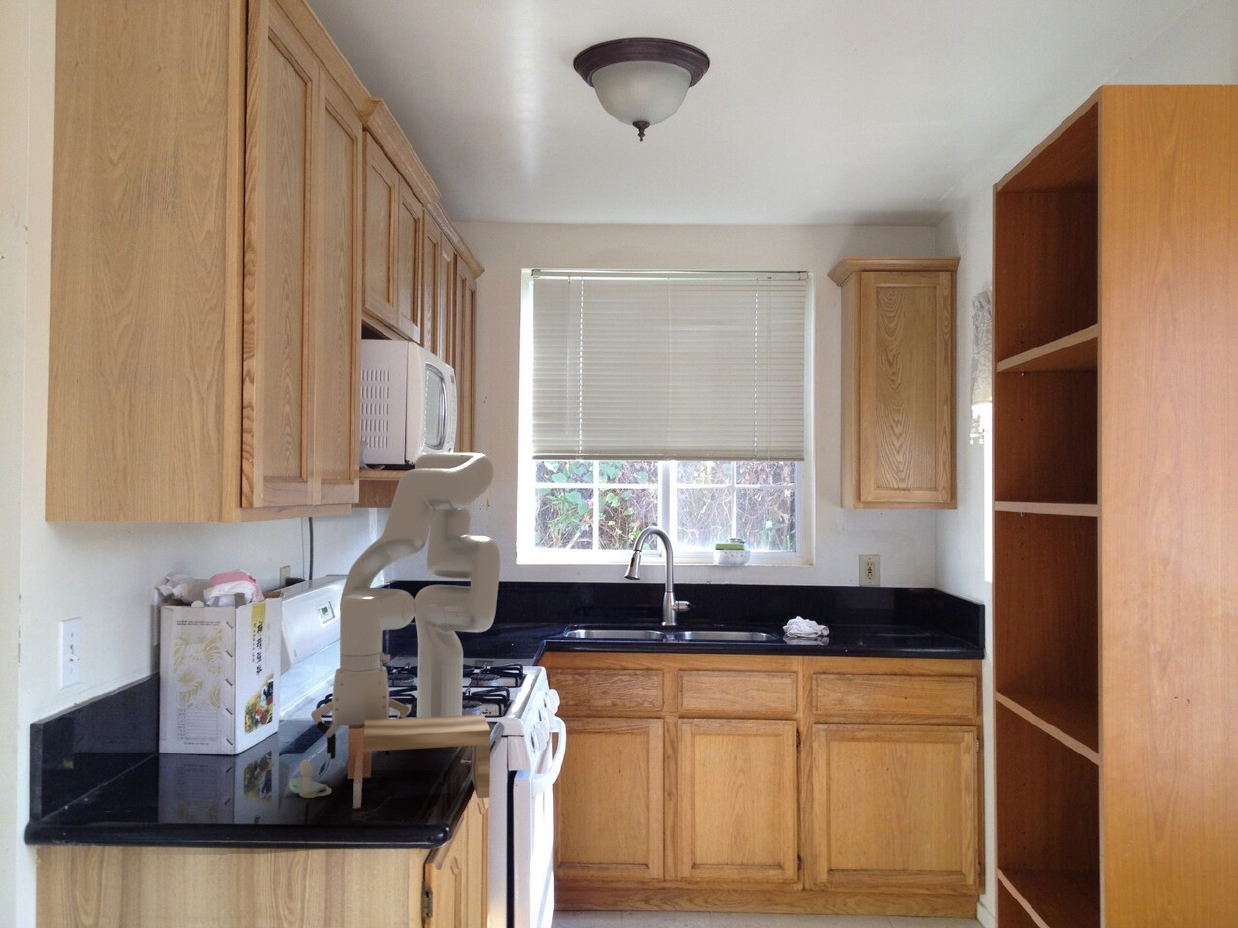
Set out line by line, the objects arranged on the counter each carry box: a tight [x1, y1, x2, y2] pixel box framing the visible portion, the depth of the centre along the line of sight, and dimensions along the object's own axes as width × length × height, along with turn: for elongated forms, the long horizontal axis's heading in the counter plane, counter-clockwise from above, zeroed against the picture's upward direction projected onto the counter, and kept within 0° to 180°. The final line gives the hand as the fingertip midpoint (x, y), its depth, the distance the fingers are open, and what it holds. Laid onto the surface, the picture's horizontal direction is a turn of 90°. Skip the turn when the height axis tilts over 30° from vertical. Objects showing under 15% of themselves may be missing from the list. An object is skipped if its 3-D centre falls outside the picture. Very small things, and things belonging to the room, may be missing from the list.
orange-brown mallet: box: [347, 725, 372, 809], centre depth 167 cm, size 20×4×9 cm, turn 14°
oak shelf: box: [363, 714, 491, 799], centre depth 166 cm, size 11×21×12 cm, turn 104°
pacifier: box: [288, 759, 333, 799], centre depth 164 cm, size 7×6×6 cm
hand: (360, 755), depth 175 cm, fingers open, 9 cm apart
